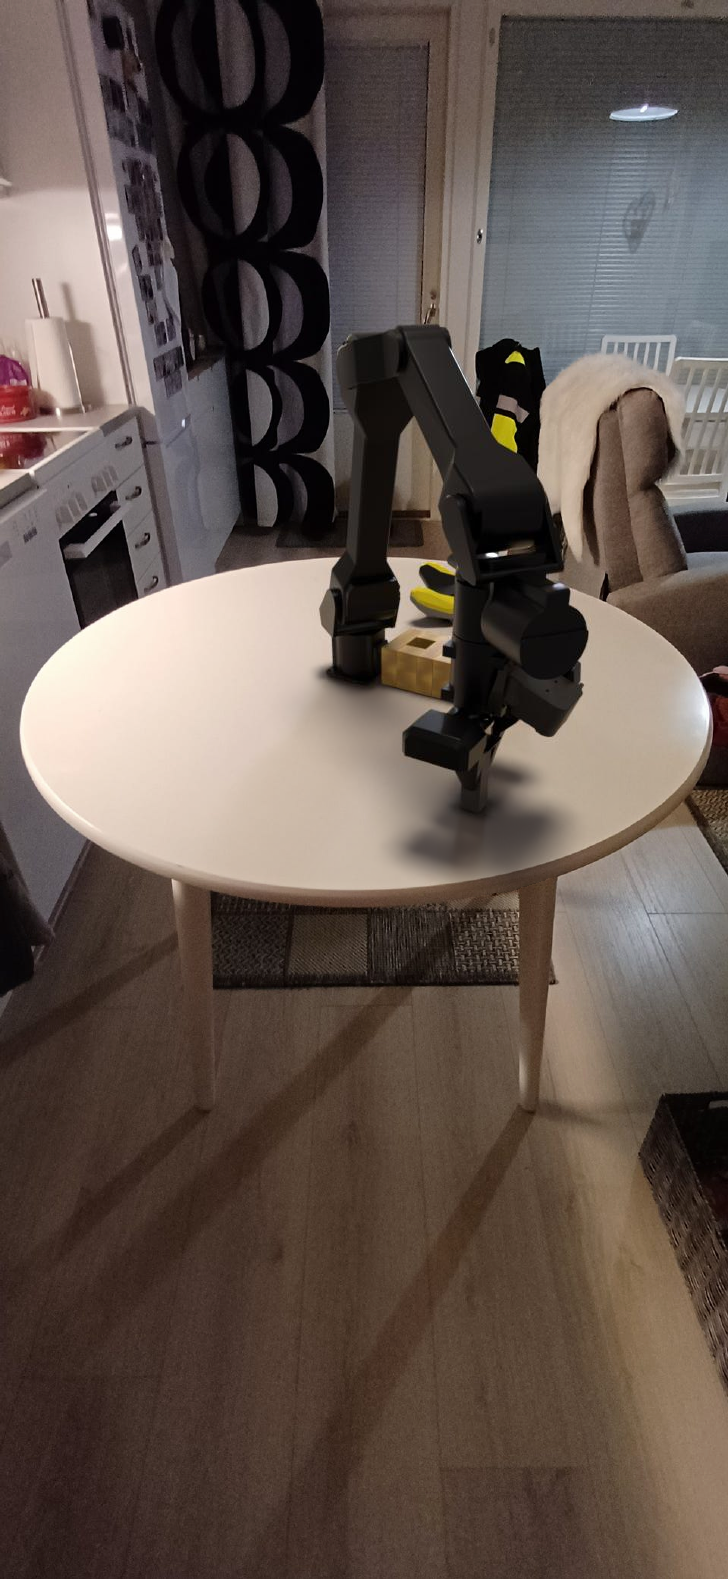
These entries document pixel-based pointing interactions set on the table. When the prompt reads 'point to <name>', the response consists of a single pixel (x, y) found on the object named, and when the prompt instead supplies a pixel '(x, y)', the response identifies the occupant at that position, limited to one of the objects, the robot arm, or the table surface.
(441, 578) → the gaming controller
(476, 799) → the peg
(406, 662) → the holder
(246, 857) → the table surface
